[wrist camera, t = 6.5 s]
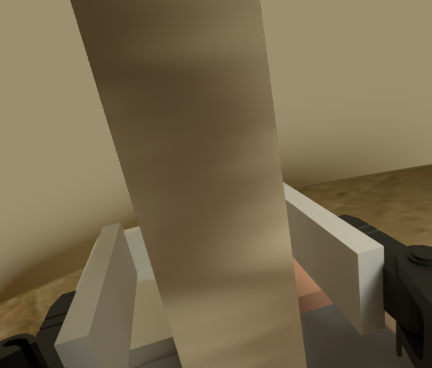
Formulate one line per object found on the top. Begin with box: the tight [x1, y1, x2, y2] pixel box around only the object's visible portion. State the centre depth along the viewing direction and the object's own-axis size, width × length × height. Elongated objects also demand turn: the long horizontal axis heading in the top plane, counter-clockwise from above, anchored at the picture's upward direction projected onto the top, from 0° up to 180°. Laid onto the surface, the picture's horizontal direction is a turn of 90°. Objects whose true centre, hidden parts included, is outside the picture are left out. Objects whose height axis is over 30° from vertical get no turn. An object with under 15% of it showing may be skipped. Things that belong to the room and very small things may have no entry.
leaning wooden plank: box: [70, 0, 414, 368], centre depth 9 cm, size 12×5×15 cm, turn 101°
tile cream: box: [128, 278, 178, 368], centre depth 16 cm, size 5×5×3 cm
